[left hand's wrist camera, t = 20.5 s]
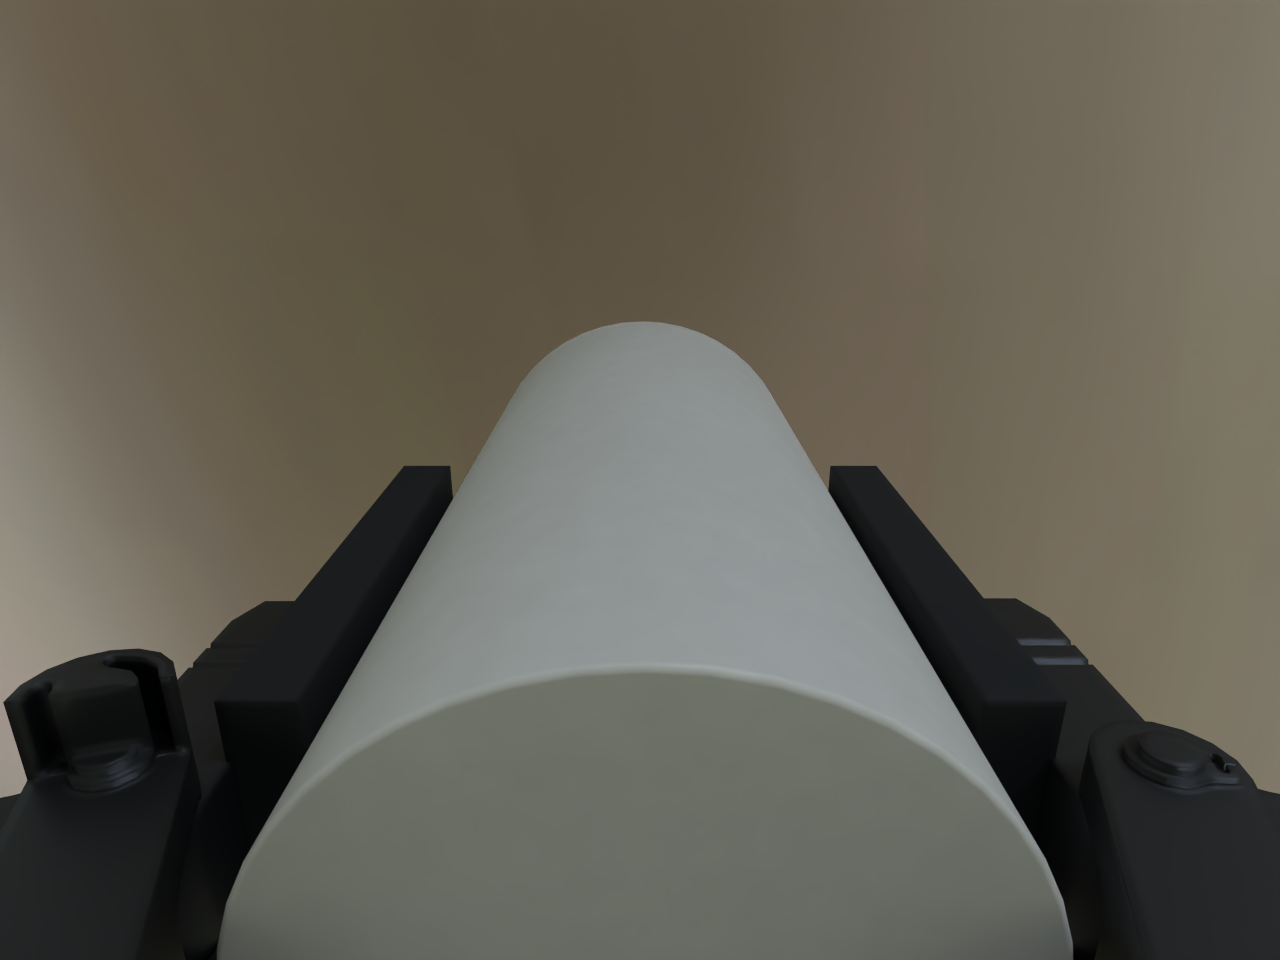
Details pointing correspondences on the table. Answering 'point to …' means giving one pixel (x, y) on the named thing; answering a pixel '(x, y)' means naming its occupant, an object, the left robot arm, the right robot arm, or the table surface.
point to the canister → (644, 714)
